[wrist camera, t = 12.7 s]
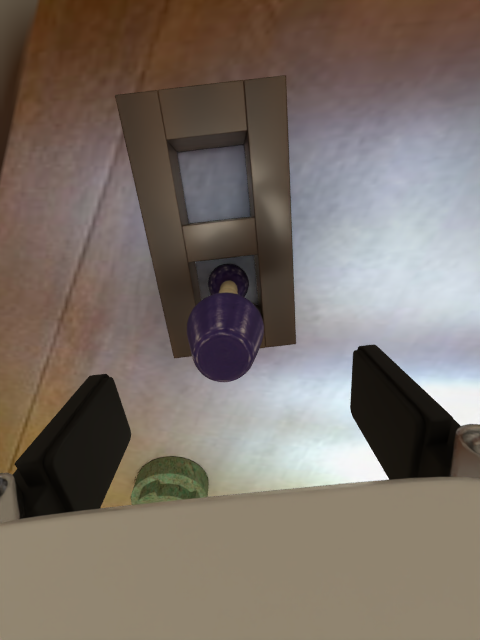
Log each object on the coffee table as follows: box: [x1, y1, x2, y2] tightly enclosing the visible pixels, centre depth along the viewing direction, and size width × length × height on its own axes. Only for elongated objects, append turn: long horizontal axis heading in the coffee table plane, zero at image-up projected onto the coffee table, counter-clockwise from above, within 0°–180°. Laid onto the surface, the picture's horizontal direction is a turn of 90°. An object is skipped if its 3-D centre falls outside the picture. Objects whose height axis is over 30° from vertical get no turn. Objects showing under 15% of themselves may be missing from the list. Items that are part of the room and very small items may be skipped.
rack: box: [115, 75, 296, 358], centre depth 25 cm, size 12×21×4 cm, turn 6°
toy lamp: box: [187, 264, 264, 382], centre depth 21 cm, size 5×5×17 cm
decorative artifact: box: [131, 457, 208, 505], centre depth 36 cm, size 10×7×10 cm
